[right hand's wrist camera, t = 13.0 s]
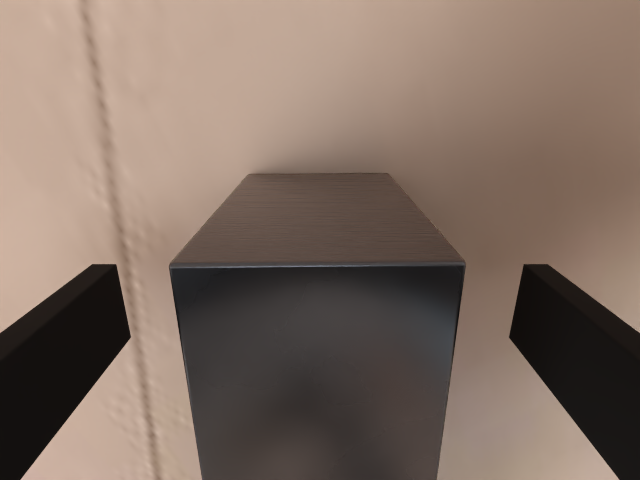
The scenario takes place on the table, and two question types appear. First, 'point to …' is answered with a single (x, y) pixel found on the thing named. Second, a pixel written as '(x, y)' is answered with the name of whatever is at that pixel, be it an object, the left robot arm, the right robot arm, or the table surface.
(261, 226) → the bar
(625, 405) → the right robot arm
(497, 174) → the table surface
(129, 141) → the table surface
